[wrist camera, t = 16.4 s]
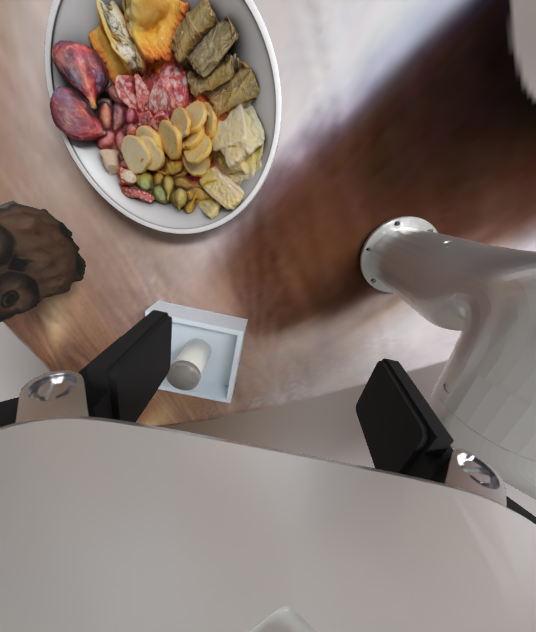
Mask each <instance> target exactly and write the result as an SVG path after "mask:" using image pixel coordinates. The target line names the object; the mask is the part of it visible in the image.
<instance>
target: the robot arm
mask: <svg viewBox="0 0 536 632" xmlns="http://www.w3.org/2000/svg"><path fill="white" fill-rule="evenodd" d="M395 222H396V225H394V223H395ZM428 230H429V231H428ZM367 248H368V250H367V251H366V249H367ZM360 267H361V271H362V274H363V276H364V278H365V279H366V281H367V282H368V283H369V284H370V285H371V286H373V287H374V288H376V289H378V290H380V291H383V292H388V293H395V294H396V295H398V296H399V297H400V298H401V299H402V300H404V301H405V302H406V303H407V304H408V305H409V306H411V307H412V308H413V309H414V310H415V311H416V312H418V313H419V314H420V315H421V316H423V317H424V318H425V319H426V320H428V321H429V322H431V323H432V324H434V325H436V326H439V327H441V328H445V329H449V330H456V331H462V332H461V334H460V337H459V339H458V340H457V342H456V344H455V348H454V350H453V352H452V354H451V356H450V358H449V360H448V362H447V364H446V366H445V368H444V369H443V371H442V373H441V375H440V377H439V379H438V381H437V383H436V385H435V387H434V389H433V391H432V394H431V396H430V399H429V403H427V401H426V400H425V399H424V397H423V396H422V394H421V393H420V392H419V390H418V389H417V387H416V386H415V384H414V383H413V381H412V380H411V379H410V377H409V376H408V374H407V373H406V371H405V370H404V369H403V367H402V366H401V364H400V363H399V362H398V361H394V360H389V359H383V360H382V361H379V362H378V363H377V365H376V367H375V369H374V371H373V373H372V375H371V376H370V378H369V380H368V382H367V385H366V386H365V389H364V390H363V392H362V394H361V397H360V398H359V400H358V403H357V405H356V412H357V416H358V418H359V421H360V424H361V427H362V430H363V433H364V436H365V439H366V442H367V445H368V448H369V450H370V454H371V457H372V459H373V463H374V466H375V468H370V467H365V466H360V465H355V464H350V463H345V462H340V461H335V460H330V459H325V458H320V457H315V456H310V455H305V454H300V453H295V452H290V451H284V450H279V449H274V448H269V447H264V446H259V445H254V444H248V443H243V442H238V441H233V440H227V439H221V438H217V437H212V436H206V435H201V434H196V433H190V432H185V431H180V430H174V429H169V428H163V427H158V426H152V425H146V424H140V423H135V422H136V421H137V419H138V418H139V416H140V415H141V413H142V412H143V410H144V409H145V407H146V406H147V404H148V403H149V401H150V400H151V398H152V397H153V395H154V394H155V392H156V391H157V389H158V388H159V386H160V385H161V383H162V382H163V380H164V379H165V377H166V376H167V374H168V372H169V370H170V364H171V338H172V317H170V316H169V315H168V313H167V312H162V311H157V310H153V311H151V312H150V313H149V314H148V315H147V316H145V317H144V318H143V319H142V320H141V321H140V322H138V323H137V324H136V325H135V326H134V327H132V328H131V329H130V330H129V331H128V332H127V333H125V334H124V335H123V336H121V337H120V338H119V339H117V340H116V341H115V342H114V343H113V344H112V345H110V346H109V347H108V348H107V349H106V350H104V351H103V352H102V353H101V354H100V355H98V356H97V357H96V358H95V359H94V360H93V361H91V362H90V363H89V364H88V365H87V366H85V367H84V368H83V369H82V370H81V371H79V372H74V371H69V370H60V371H53V372H49V373H46V374H43V375H40V376H38V377H36V378H34V379H33V380H31V381H29V382H28V383H27V384H26V385H25V386H24V387H23V388H22V389H21V392H20V394H19V397H18V398H14V399H10V400H7V401H3V402H0V632H536V517H535V516H533V515H532V514H531V513H529V512H528V511H527V510H525V509H524V508H522V507H521V506H520V505H518V504H517V503H516V502H514V501H513V500H511V499H510V498H509V497H507V496H506V487H505V483H507V484H509V485H511V486H513V487H514V488H516V489H518V490H520V491H521V492H523V493H525V494H527V495H529V496H530V497H532V498H534V499H536V252H534V251H524V250H516V249H510V248H504V247H498V246H493V245H489V244H484V243H479V242H475V241H470V240H466V239H461V238H457V237H452V236H448V235H443V234H439V233H437V231H436V229H435V228H434V227H433V226H432V225H431V224H430V223H429V222H427V221H426V220H424V219H421V218H418V217H412V216H403V217H397V218H394V219H391V220H389V221H387V222H385V223H383V224H381V225H380V226H379V227H378V228H376V229H375V230H374V231H373V232H372V233H371V235H370V236H369V237H368V239H367V240H366V242H365V243H364V246H363V248H362V251H361V256H360ZM371 279H373V280H371ZM452 448H453V449H454V450H453V449H452ZM504 482H505V483H504Z"/></svg>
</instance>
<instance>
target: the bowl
mask: <svg viewBox="0 0 536 632" xmlns="http://www.w3.org/2000/svg"><path fill="white" fill-rule="evenodd" d="M45 71H46V80H47V87H48V92H49V97H50V109H51V115H52V118H53V121H54V123H55V125H56V126H57V127H58V128H59V130H60V133H61V135H62V138H63V140H64V142H65V144H66V146H67V148H68V150H69V152H70V154H71V156H72V157H73V159H74V161H75V163H76V164H77V166H78V167H79V169H80V170H81V172H82V173H83V175H84V176H85V177H86V179H87V180H88V181H89V182H90V184H91V185H92V186H93V187H94V188H95V189H96V191H97V192H98V193H99V194H100V195H101V196H102V197H103V198H104V199H105V200H106V201H107V202H109V203H110V204H111V205H112V206H113V207H115V208H116V209H117V210H118V211H120V212H121V213H123V214H124V215H126V216H127V217H129V218H130V219H132V220H134V221H136V222H138V223H140V224H142V225H144V226H147V227H149V228H152V229H155V230H159V231H162V232H167V233H175V234H191V233H199V232H203V231H207V230H210V229H213V228H216V227H218V226H220V225H222V224H224V223H226V222H228V221H230V220H231V219H233V218H234V217H235V216H237V215H238V214H239V213H240V212H242V211H243V210H244V209H245V208H246V207H247V206H248V205H249V204H250V202H251V201H252V200H253V199H254V198H255V196H256V195H257V194H258V192H259V191H260V189H261V187H262V186H263V184H264V182H265V180H266V178H267V176H268V174H269V172H270V169H271V167H272V164H273V161H274V158H275V155H276V151H277V147H278V142H279V136H280V129H281V116H282V99H281V85H280V77H279V70H278V65H277V61H276V56H275V53H274V49H273V46H272V42H271V39H270V36H269V34H268V31H267V28H266V26H265V24H264V21H263V19H262V17H261V15H260V13H259V11H258V9H257V7H256V5H255V3H254V2H253V0H53V1H52V5H51V8H50V12H49V17H48V22H47V28H46V37H45Z"/></svg>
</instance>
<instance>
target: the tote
mask: <svg viewBox="0 0 536 632" xmlns="http://www.w3.org/2000/svg"><path fill="white" fill-rule="evenodd" d="M153 310H157V311H162V312H167V313H168V315H169V316H170V317H172V338H171V364H173V363H174V361H175V360H176V358H177V357H178V356H179V354H180V353H181V351H182V350H183V348H184V347H185V345H186V344H187V342H188V341H189V340H191V339H195V338H198V339H202V340H204V341H206V342H207V343H208V344H209V345H210V347H211V351H212V352H211V355H210V358H209V360H208V362H207V364H206V366H205V368H204V370H203V372H202V374H201V378H200V381H199V383H198V385H197V386H196V387H195V388H194V389H192V390H179V389H177V388H175V387H173V386H172V385H171V384H170V383H169V382H168V380H167V377H165V379H164V380H163V382H162V383H161V385H160V386H159V388H158V389H161V390H166V391H171V392H176V393H181V394H186V395H191V396H196V397H201V398H206V399H211V400H216V401H221V402H226V403H231V399H232V396H233V392H234V388H235V383H236V378H237V373H238V368H239V362H240V357H241V352H242V347H243V342H244V337H245V331H246V326H247V321H248V319H243V318H238V317H234V316H229V315H224V314H220V313H215V312H210V311H206V310H201V309H196V308H192V307H187V306H182V305H177V304H173V303H168V302H163V301H159V300H158V301H157V302H156V303H154V304H153V305H152V306H151V307H149V308H148V309H147V310H146V311H145V316H147V315H148V314H149V313H150V312H151V311H153ZM171 364H170V366H171Z"/></svg>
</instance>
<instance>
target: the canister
mask: <svg viewBox="0 0 536 632" xmlns="http://www.w3.org/2000/svg"><path fill="white" fill-rule="evenodd" d="M211 352H212V351H211V347H210V345H209V344H208V343H207V342H206V341H204V340H202V339H198V338H195V339H191V340H189V341H188V342H187V344H186V345H185V347H184V348H183V350H182V351H181V353H180V354H179V356H178V357H177V358H176V360H175V361H174V363H173V364H171V366H170V370H169V372H168V374H167V376H166V377H167V380H168V382H169V383H170V384H171V385H172V386H173V387H175V388H177V389H179V390H192V389H194V388H195V387H196V386H197V385H198V383H199V381H200V378H201V374H202V372H203V370H204V368H205V366H206V364H207V362H208V360H209V358H210V355H211Z"/></svg>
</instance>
